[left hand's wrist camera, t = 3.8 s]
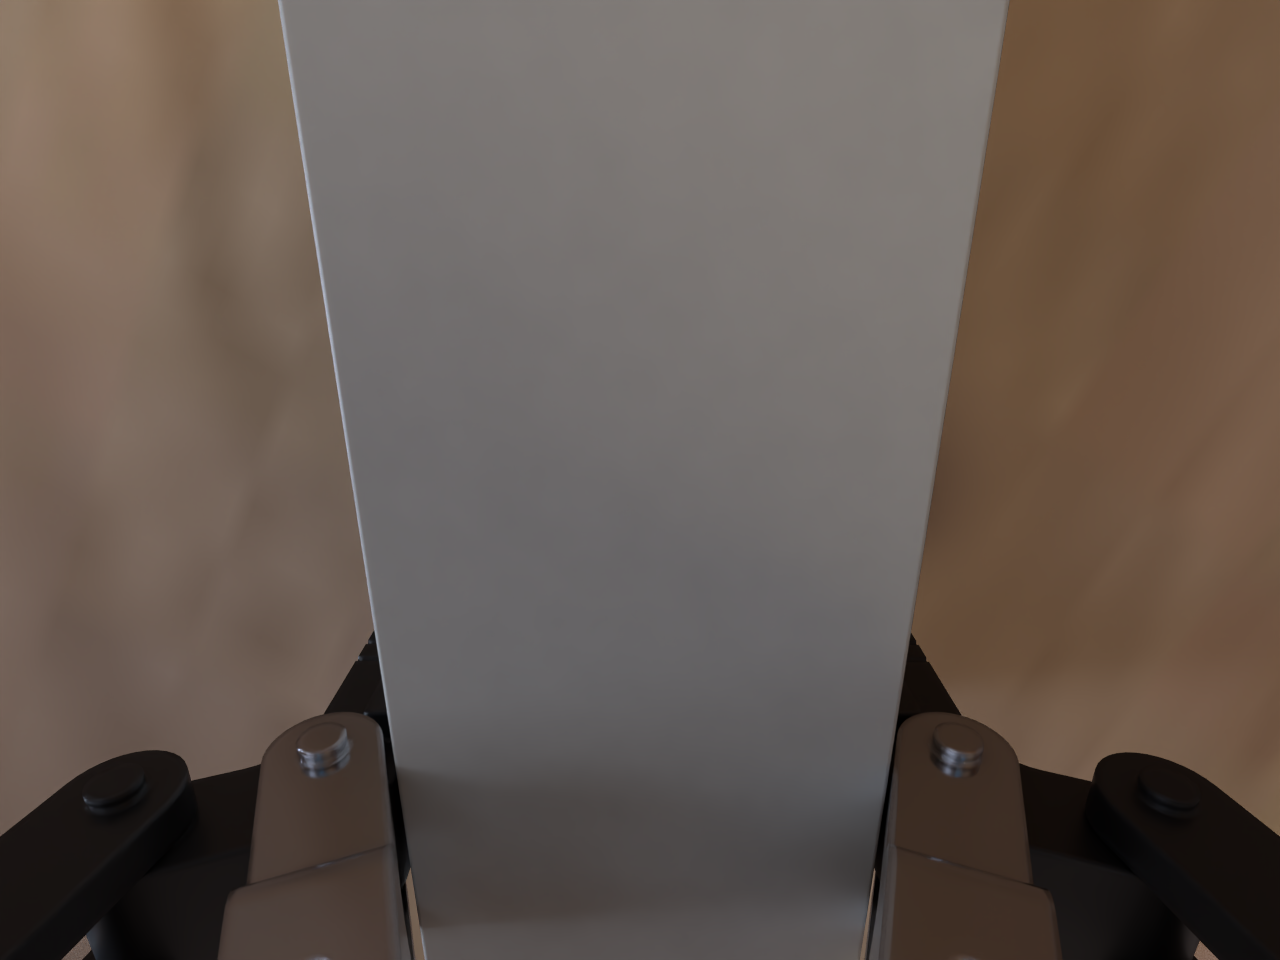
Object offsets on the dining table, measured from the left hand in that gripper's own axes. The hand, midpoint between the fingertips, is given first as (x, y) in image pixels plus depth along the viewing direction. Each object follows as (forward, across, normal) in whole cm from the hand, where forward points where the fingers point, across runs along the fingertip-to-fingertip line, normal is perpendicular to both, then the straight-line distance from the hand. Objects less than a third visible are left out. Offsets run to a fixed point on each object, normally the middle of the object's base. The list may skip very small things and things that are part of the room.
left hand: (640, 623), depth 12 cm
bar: (+3, 0, -10) cm, 10 cm away
